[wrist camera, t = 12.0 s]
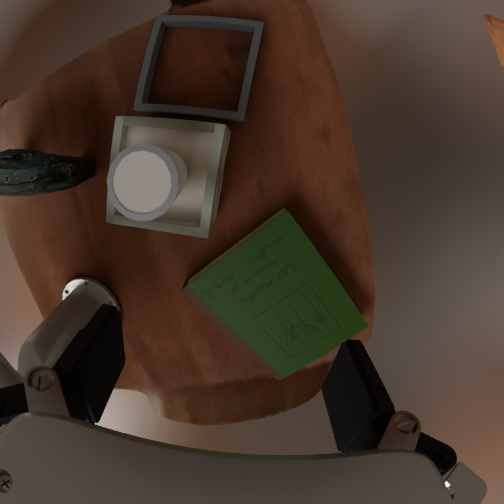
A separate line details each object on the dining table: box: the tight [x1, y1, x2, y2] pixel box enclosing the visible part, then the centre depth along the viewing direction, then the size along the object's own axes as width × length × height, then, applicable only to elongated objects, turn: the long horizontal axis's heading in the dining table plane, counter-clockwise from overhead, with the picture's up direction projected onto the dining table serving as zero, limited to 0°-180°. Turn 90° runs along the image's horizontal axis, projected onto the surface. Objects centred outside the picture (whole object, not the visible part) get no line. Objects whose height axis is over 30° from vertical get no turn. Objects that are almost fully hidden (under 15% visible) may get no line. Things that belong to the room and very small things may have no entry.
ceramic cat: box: [0, 149, 96, 196], centre depth 26 cm, size 20×6×20 cm, turn 80°
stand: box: [106, 116, 231, 238], centre depth 32 cm, size 12×12×10 cm
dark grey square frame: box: [133, 15, 264, 122], centre depth 31 cm, size 15×15×2 cm
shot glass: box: [107, 143, 188, 221], centre depth 25 cm, size 7×7×7 cm
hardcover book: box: [182, 208, 368, 381], centre depth 44 cm, size 25×19×4 cm
